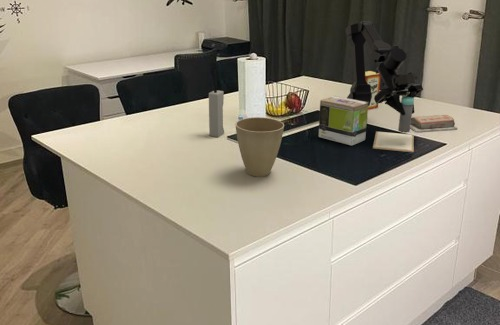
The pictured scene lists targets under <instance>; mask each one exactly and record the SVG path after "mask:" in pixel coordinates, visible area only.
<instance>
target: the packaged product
mask: <svg viewBox="0 0 500 325" xmlns="http://www.w3.org/2000/svg"><path fill="white" fill-rule="evenodd" d="M455 124H456V122H455V118H454V117H452V116H450V115H447V114H441V115H440V114H436V115H434V114H433V115H421V116H420V115H419V116H412V117H411V125H410V130H412V131H414V133H428V132H429V133H430V132H446V131H456V130H458V127H456V125H455Z"/></svg>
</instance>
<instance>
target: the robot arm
mask: <svg viewBox="0 0 500 325" xmlns="http://www.w3.org/2000/svg"><path fill="white" fill-rule="evenodd" d="M345 35H346V40H347V42H348V43H349V45H350V47H351V53H352V54H351V55H352V56H351V57H352V73H353V75H352V76H353V77H352V78H353V83H352V85H351V86H350V90H349V94H348V95H347V97H346V98H349V99H354V100H359V101H365V102H368V106H369V105H370V102H371V98H372V93H371V85H370V84H368V83H367V82H366V77H365V72H366V65H365V64H366V61H365V43H367V44H368V46H369V48H370V54H369V55H370V58H371V60H372V62H373V63H375V64H378V63H380V64H379V65H377V66H376V69H375V72H376V74H378V73H379V74H380V76H381V79H382V82H383V83H382V84H381V86H382V87H383V88H380V91H379V92H378V93H377V94H376V95H375V97H374V100H375V102H376V104H378V105H379V104H382V103H384V104H385V105H387V106H389V107H390V108H392V109H393V110H395V111H396V112H398V113H399V115H400V114H402V115H405V111H404V109H403V106H402V104H401V100H400V96H401V98H402V97H412V98H414V99H415V98H416V97H417V96H418V95H419V94H420V93H422V92H423V91H424V88H423V86H422V84H419V83H417V84H415V83H416V81H417V80H418V75H417V73H416V72H415V71H414V70H413V71H410V72H407V73H406V74H401V73H400V74H399V73H398V72H397V70H398V69H399V68H400V67H401V66H402V65H403V63H404V62H405V60H406V59H407V53H406V52H405V50H403V49H401V48H399V45H392V46H391V45H390V44H389V43H388V42H385V41H383V39H382V38H381V36H380V34H379V33H378V32H377V29H376V28H375V27H374V23H373V21H370V20H367V21H366V20H365V21H359V22H357V23H350V24H348V26H347V27H346V28H345ZM412 83H413V84H412ZM409 84H411V85H409ZM384 87H385V88H384ZM384 99H385V102H384ZM414 104H415V103H413V109H412V115H413V114H414V113H415V105H414Z"/></svg>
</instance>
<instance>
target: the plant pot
mask: <svg viewBox="0 0 500 325" xmlns="http://www.w3.org/2000/svg"><path fill="white" fill-rule="evenodd" d="M234 125H235V131H236V138H237V143H238V144H237V145H238V148H239V149H238V150H239V153H240V156H241V159H242V163H243V165H244V169H245V171H246V173H247V174H248V175H249V176H252V177H266V176H268V175H270V173H271V171H272V170H273V169H272V168H273V167H274V164H275V162H276V159H277V157H278V153H279V150H280V148H281V143H282V139H283V135H284V129H285V124H284V122H282V121H281V120H278V119H274V118H269V117H261V116H260V117H257V116H256V117H253V116H252V117H247V118H242V119H239V120H238V121H236V122H235V124H234Z"/></svg>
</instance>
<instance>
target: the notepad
mask: <svg viewBox="0 0 500 325" xmlns="http://www.w3.org/2000/svg"><path fill="white" fill-rule="evenodd" d="M414 140H415V137H414V134H411V133H410V134H409V133H408V134H407V133H396V132H385V131H377V130H376V131H375V135H374V141H373V144H372V149H376V150H384V151H385V150H387V151H398V152H406V153H414V152H415V148H414V144H415V143H414V142H415V141H414Z"/></svg>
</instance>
